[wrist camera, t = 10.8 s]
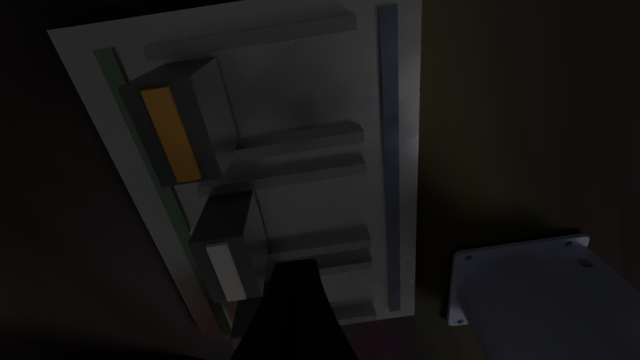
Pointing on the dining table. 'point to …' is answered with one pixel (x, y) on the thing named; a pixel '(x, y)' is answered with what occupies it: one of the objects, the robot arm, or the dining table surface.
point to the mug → (175, 358)
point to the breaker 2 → (244, 317)
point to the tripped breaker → (183, 121)
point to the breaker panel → (280, 138)
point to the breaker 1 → (231, 247)
